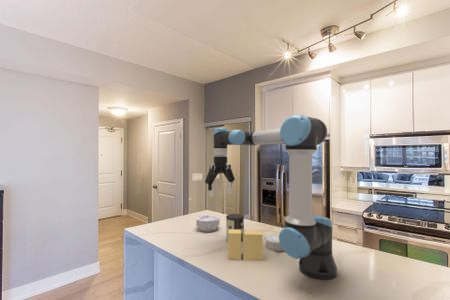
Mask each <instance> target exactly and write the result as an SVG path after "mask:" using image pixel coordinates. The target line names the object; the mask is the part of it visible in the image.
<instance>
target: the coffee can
mask: <svg viewBox="0 0 450 300" xmlns="http://www.w3.org/2000/svg"><path fill="white" fill-rule="evenodd" d="M225 218H226V220H225V221H226V223H225V224H226V227H225V228H226V230H225V231H226V232H225V233H226V240H225V241H226V242H228V231H229V229H232V230H241V243H243V230H245V219H244V218H245V216H244V215H243V214H239V213H232V214H231V213H229V214H227V215H226V216H225Z"/></svg>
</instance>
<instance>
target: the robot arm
mask: <svg viewBox="0 0 450 300" xmlns="http://www.w3.org/2000/svg"><path fill="white" fill-rule="evenodd" d="M327 136H328V128H327V125H326V124H325V122H324V121H322V120H321V119H319V118H315V117H311V116H306V115H304V114H303V115H302V114H300V115H299V114H296V115H295V114H294V115H291V116H289V117H287V118H286V119H285V120H284V121H283V122H282V124H281V126H280V127H279V128H272V129H271V128H270V129H262V130H253V131H245V130H241V129H233V130H228V129H227V127H216V128H214V129H213V163H214V164H213V165H212V164H211V165H209V170H208V173H207V175H206V177H205V181H204V184H207V185H208V186H207V187H208V188H207V189H208V196H209V197H211V198H214V184H213V183H214V181H215V180H216V178H217V176H218V175H219V174H223V175H224V177H225V178H226V179H227V181H226V185H227V186H226V189H227V191H226V193H227V194H232V189H233V183H234V181H235V180H236V179H235V175H234V172H233V170H232V164H228V157H227V156H228V146H251V147H252V146H260V145H264V146H265V145H280V144H284V146H285V152H286V153H288V157H289V160H288V161H289V163H288V167H289V168H288V215H287V216H285V218H284V227H283V228H282V230H280V232H279V234H278V235H279V242H280V245H281V247H282V249H284V250H283V252H284V253H285V254H287V256H289V257H291V258H293V259H299V262H298V269H299V271H300V272H301V273H302V274H304V275H305V276H308V277H310V278H311V279H316V280H325V281H326V280H332V279H334V278H336V277H337V276H338V267H337V264H336V261H335V258H334V255H333V223H332V220H331V219H330V218H329V217H325V216H322V215H315V214H313V155H314V154H315V153H316V152H317V151H318V149H317V147H318V145H321V144H322V143H323V142H324V141H325V140H326V139H327Z"/></svg>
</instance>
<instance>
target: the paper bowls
mask: <svg viewBox="0 0 450 300" xmlns="http://www.w3.org/2000/svg"><path fill="white" fill-rule="evenodd" d="M195 220H196V221H195V222H196V227H197V228H199V230H200V231H201V232H206V233H208V232H213V231H216V230H217V227H219V226H220V217H219V216H217V215H210V214H208V215H207V214H206V215H200V216H197V217H196V219H195Z"/></svg>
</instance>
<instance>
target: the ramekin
mask: <svg viewBox="0 0 450 300" xmlns="http://www.w3.org/2000/svg"><path fill="white" fill-rule="evenodd" d="M264 241H265V244H266V248H268V249H269V250H272V251H274V252H276V253H277V252H284V249H282V247H281V245H280V242H279V234H269V235H267V236H265V238H264Z"/></svg>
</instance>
